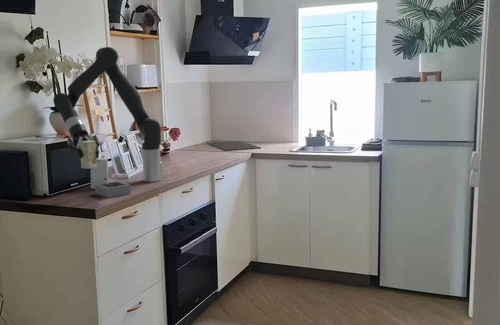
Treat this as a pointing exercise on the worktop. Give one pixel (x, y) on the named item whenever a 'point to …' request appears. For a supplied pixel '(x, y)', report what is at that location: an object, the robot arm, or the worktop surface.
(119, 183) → the tray
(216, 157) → the worktop surface
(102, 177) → the skincare box
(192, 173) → the worktop surface
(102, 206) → the worktop surface
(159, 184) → the worktop surface
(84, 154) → the skincare box
